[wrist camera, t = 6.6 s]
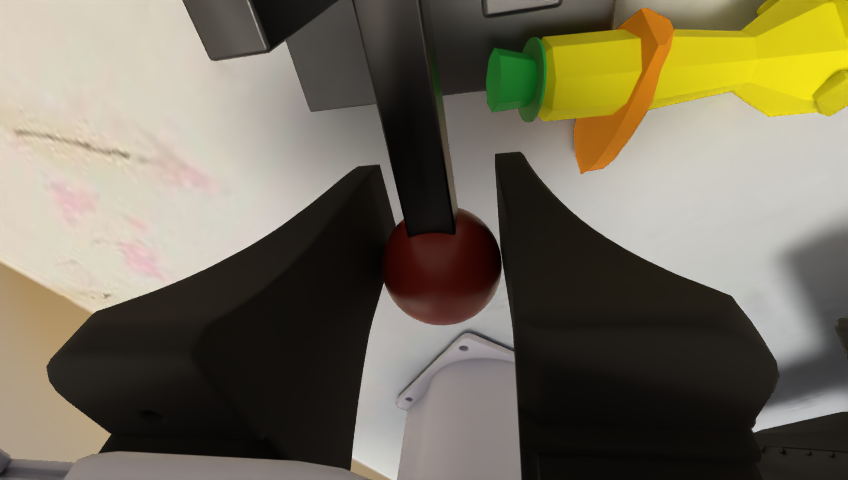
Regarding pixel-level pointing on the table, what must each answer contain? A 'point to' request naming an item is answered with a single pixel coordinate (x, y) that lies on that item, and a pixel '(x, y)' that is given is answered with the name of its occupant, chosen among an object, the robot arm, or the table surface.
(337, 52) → the bracket
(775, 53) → the toy figure
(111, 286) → the table surface
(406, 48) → the lever
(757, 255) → the table surface
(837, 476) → the airplane toy
